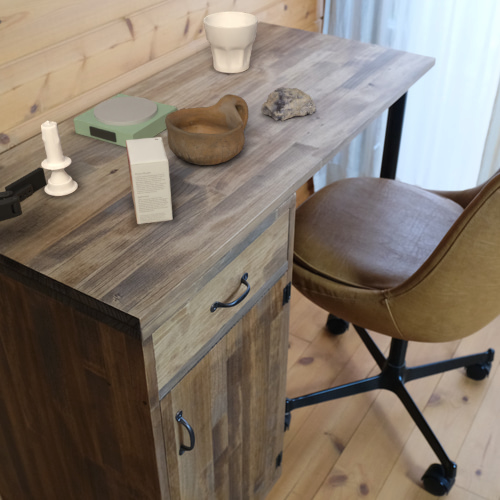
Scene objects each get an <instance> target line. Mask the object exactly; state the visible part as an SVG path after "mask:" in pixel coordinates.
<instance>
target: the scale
mask: <svg viewBox="0 0 500 500" xmlns="http://www.w3.org/2000/svg"><path fill="white" fill-rule="evenodd" d="M177 110H178V108H177V106H175V105H170V104H166V103H162V102H158V101H154V100H151V99H149V98H146V97H142V96H141V97H140V96H132V95H129V94H124V93H118V94H116V95H114V96H112V97H111V98H108V99H106V100H104V101H102V102H99V103H98V104H96V106H94V107H92V108H90V109H89V110H87V111H85V112H83V113H81V114H79V115H77V116H75V117H74V118H73V119H72V121H73V127H74V130H75V134H78V135H81V136H84V137H88V138H92V139H95V140H99V141H102V142H106V143H110V144H113V145H117V146H119V147H120V146H121V147H124V148H126V140H133V139H144V138H154V137H157V135H159V134H161V133H162V132H163V131H165V130H167V127H166V123H165V119H166V116H167V115H168V114H170V113H172V112H175V111H177Z"/></svg>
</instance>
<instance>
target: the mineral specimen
mask: <svg viewBox="0 0 500 500" xmlns="http://www.w3.org/2000/svg"><path fill="white" fill-rule="evenodd" d="M267 96H268V97H267V99H266V101H264V102H263V104H262V105H261V114H264V115H266V116H269V117H272V119H273V120H274V121H276V122H277V121H279V120H280V121H281V122H283V121H286V120H288V119H292V118H293V117H298V116H299V117H303V116H306V115H307V114H308V115H312V114H313V113H315V112H316V110H317V106H316V104H315V102H314V100H313V99H312V96H310V94H308V93H306V92H304V91H303V90H301V89H298V88H297V87H293V88H289V87H284V86H283V87H278V88H276V89H274V90H273V91H272V92H271V93H269V94H268V95H267Z"/></svg>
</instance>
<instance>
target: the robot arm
mask: <svg viewBox="0 0 500 500" xmlns="http://www.w3.org/2000/svg"><path fill="white" fill-rule="evenodd" d="M47 184H48V183H47V179H46V175H45V170H44V168H43V167H40V166H39V167H37V168H36V169H34V170H32V171H30V172H28V173H27V174H25V175H23V176H22V177H19V178H18V179H16V180H15V181H13V182H11V183H9V184H8V185H6V186H5V187H4V191H0V223H1V222H4V221H7V220H10V219H11V220H12V219H15V218H17V217H20V216H22V215H23V213H24V212H23V209H22V205H21V203H23V201H25V200H27V199H29V198H30V197H32V196H33V195H34V194H35V193H37V192H38V191H39V190H41V189H43V188H45V186H46V185H47Z"/></svg>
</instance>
